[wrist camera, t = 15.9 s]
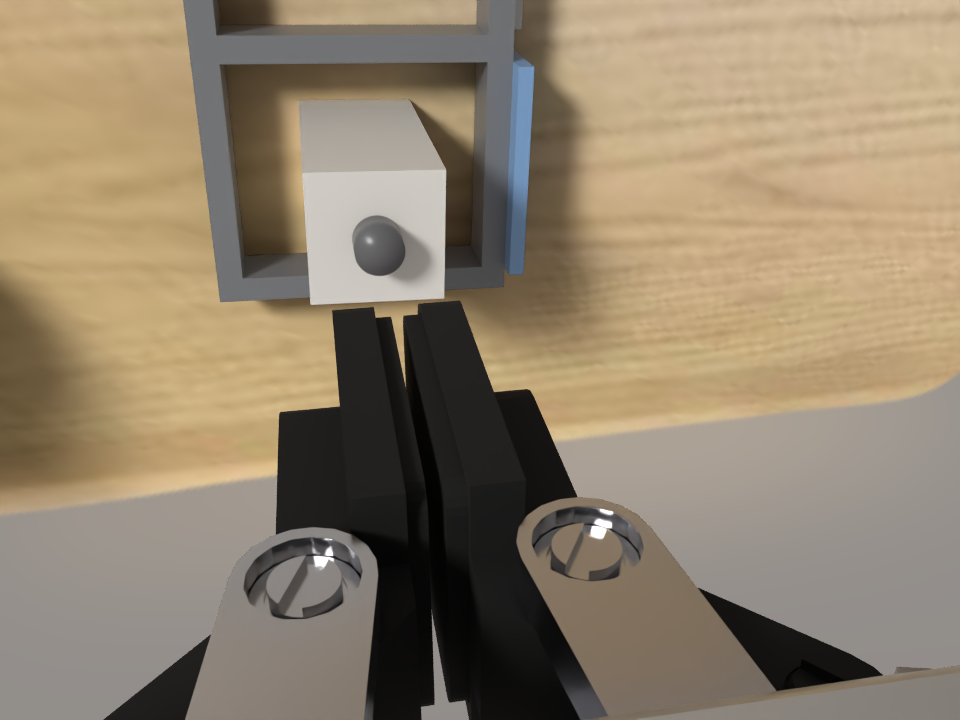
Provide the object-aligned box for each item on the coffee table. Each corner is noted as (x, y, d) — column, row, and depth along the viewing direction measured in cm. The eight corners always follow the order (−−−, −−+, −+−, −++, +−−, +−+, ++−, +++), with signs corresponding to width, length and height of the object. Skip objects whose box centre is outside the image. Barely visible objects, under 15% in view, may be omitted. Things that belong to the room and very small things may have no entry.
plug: (408, 99, 37) (452, 181, 28) (409, 203, 39) (449, 313, 30) (298, 100, 36) (302, 184, 27) (304, 206, 39) (311, 320, 29)
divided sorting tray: (527, -258, 32) (552, -270, 29) (504, 264, 42) (522, 295, 39) (157, -278, 30) (143, -294, 27) (223, 278, 39) (218, 312, 36)
